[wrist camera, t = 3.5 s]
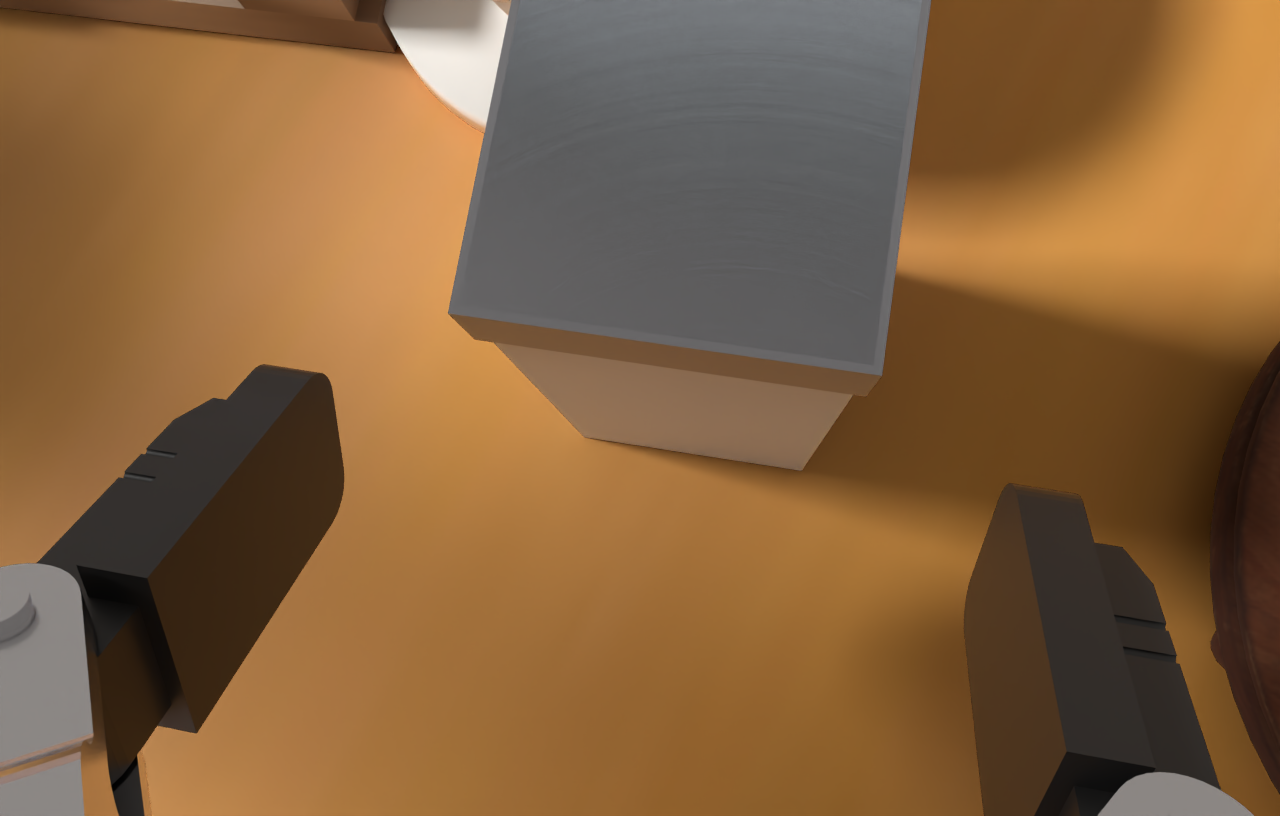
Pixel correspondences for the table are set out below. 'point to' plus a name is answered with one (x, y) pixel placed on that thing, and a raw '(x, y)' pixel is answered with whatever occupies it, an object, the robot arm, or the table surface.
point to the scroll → (1251, 564)
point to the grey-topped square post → (695, 214)
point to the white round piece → (453, 49)
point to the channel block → (243, 17)
